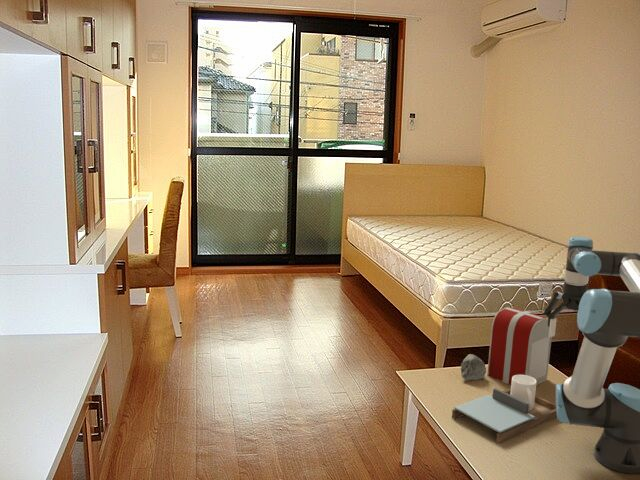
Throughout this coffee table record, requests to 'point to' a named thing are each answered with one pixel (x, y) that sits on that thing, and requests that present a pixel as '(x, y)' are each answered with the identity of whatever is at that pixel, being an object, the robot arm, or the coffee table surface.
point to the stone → (472, 368)
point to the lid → (497, 410)
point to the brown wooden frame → (542, 413)
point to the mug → (524, 389)
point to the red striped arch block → (519, 346)
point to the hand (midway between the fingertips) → (569, 342)
